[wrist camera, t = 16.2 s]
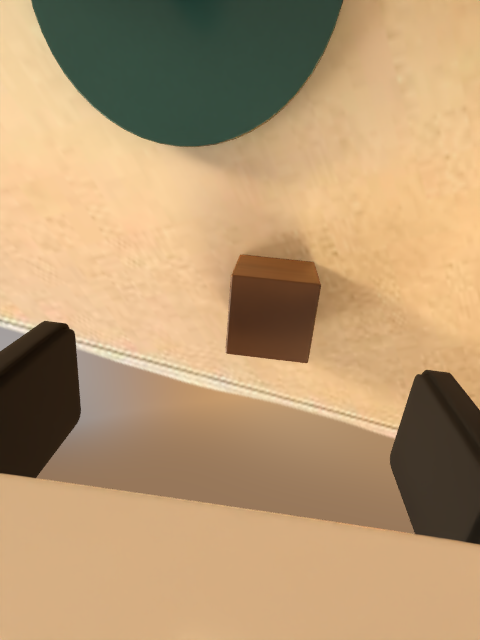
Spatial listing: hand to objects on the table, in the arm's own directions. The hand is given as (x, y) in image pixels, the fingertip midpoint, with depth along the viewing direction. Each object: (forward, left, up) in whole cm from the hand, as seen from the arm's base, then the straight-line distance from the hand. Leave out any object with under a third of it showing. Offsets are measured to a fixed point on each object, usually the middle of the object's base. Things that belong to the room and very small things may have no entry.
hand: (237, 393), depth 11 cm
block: (-2, -1, -14) cm, 14 cm away
